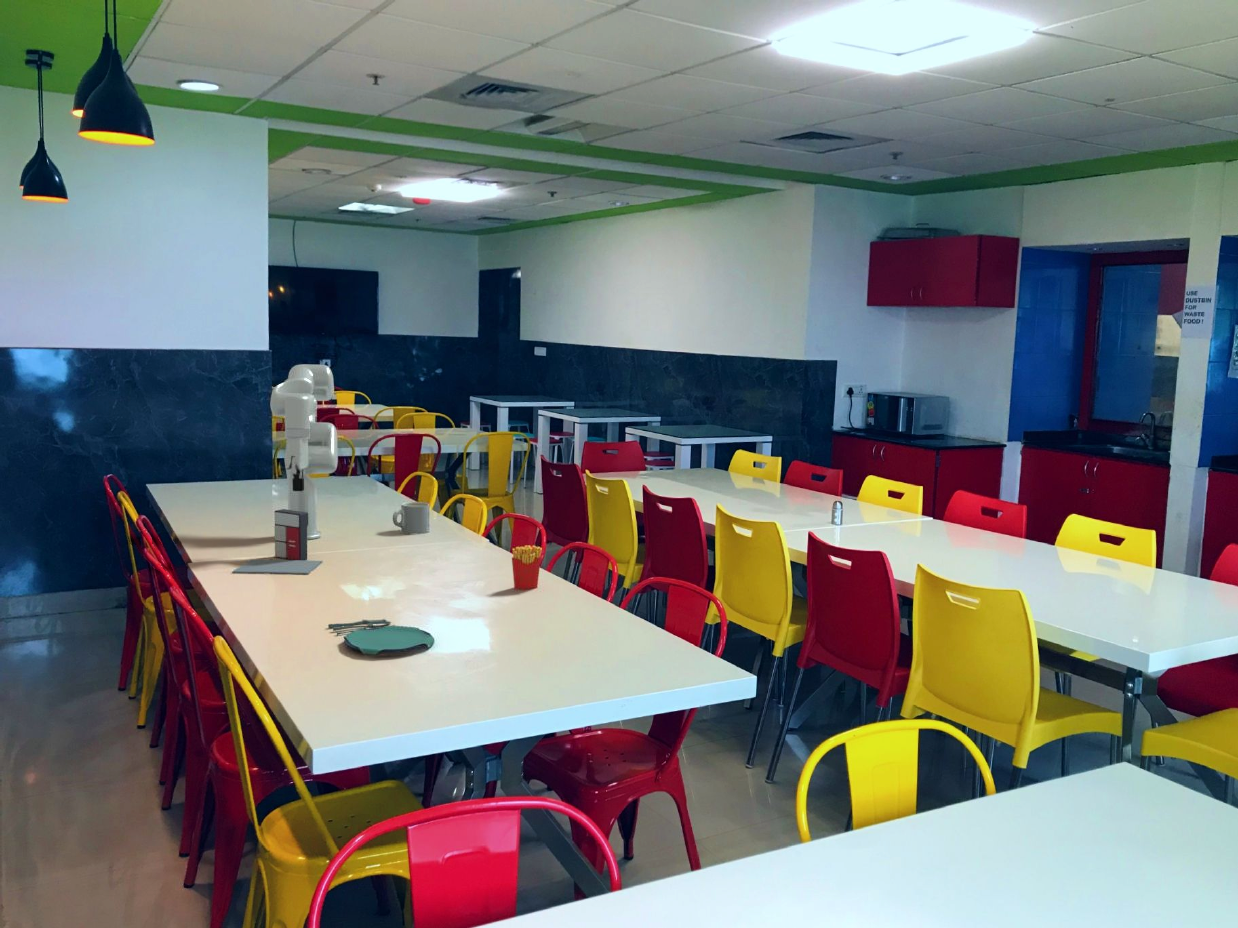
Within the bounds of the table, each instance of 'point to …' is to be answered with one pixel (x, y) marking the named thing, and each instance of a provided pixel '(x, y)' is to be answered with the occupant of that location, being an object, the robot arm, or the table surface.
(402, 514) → the coffee mug
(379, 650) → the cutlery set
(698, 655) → the table surface
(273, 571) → the mat
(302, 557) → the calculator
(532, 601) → the table surface
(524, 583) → the french fries
